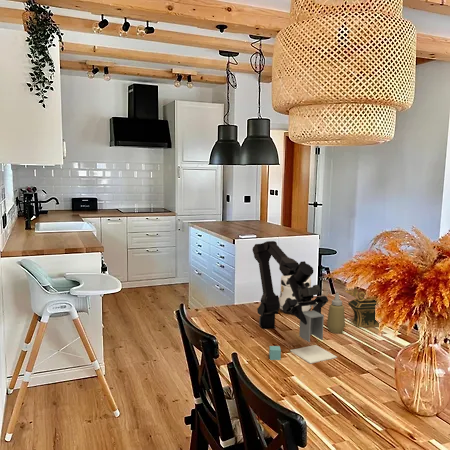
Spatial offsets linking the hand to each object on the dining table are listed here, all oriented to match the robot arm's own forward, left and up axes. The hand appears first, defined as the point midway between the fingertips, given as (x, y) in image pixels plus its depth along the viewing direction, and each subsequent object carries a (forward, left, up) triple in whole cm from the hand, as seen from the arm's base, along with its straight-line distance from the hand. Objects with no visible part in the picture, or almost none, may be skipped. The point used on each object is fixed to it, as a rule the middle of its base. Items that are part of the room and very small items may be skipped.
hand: (313, 323), depth 169 cm
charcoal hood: (0, -1, -7) cm, 7 cm away
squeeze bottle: (-19, -26, -14) cm, 35 cm away
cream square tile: (-1, -2, -13) cm, 14 cm away
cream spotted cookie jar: (-8, -56, -14) cm, 58 cm away
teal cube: (+15, 0, -14) cm, 20 cm away
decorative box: (-36, -34, -14) cm, 51 cm away
